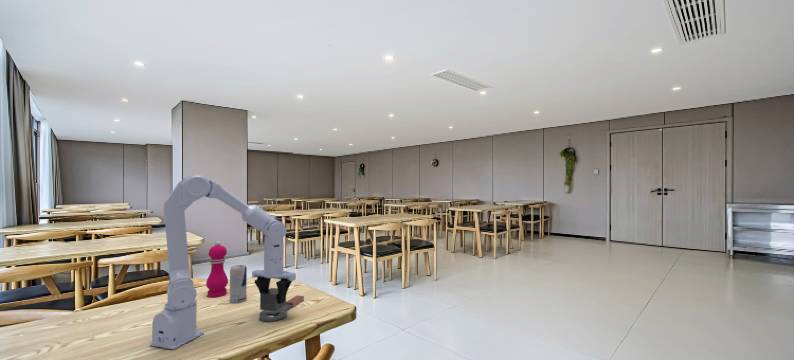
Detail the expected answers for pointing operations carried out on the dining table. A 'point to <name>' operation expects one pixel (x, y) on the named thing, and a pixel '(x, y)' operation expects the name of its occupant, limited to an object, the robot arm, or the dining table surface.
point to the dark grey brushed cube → (270, 300)
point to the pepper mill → (217, 272)
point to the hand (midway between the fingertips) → (273, 301)
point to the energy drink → (238, 283)
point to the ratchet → (280, 311)
